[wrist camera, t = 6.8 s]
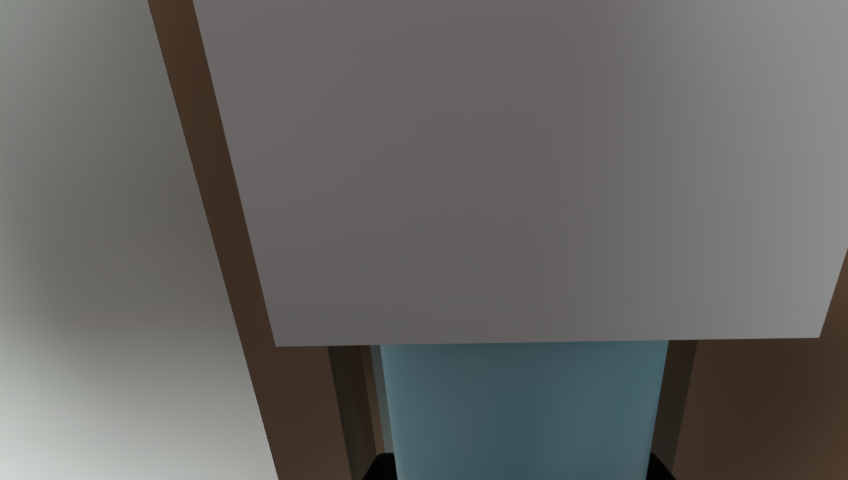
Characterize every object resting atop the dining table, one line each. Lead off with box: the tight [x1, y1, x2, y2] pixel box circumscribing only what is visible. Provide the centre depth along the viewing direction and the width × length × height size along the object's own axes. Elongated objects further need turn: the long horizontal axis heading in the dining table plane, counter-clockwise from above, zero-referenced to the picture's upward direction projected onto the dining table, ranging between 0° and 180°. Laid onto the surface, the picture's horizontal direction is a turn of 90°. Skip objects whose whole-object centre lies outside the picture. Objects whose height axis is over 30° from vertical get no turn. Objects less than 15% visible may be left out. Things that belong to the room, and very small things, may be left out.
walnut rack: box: [148, 0, 848, 480], centre depth 11 cm, size 15×17×3 cm
